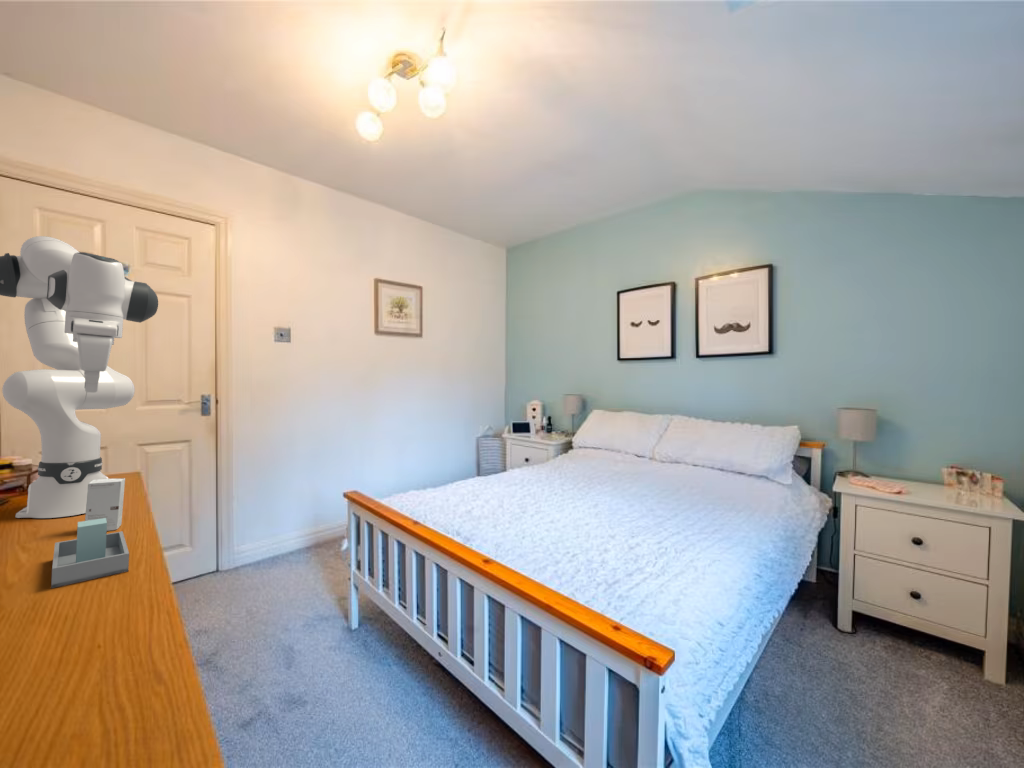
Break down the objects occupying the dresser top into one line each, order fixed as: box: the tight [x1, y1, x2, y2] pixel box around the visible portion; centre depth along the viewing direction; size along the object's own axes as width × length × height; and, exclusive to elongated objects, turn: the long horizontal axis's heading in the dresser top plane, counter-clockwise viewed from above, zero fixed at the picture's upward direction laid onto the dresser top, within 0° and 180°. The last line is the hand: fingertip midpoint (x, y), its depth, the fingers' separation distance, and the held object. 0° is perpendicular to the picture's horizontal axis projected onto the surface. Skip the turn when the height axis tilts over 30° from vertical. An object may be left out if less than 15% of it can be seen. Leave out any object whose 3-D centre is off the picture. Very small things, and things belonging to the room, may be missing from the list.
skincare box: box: [84, 477, 126, 532], centre depth 100 cm, size 6×4×12 cm
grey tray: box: [50, 530, 130, 589], centre depth 81 cm, size 16×10×4 cm, turn 47°
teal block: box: [76, 518, 108, 563], centre depth 81 cm, size 4×4×8 cm
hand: (90, 390), depth 89 cm, fingers open, 8 cm apart
